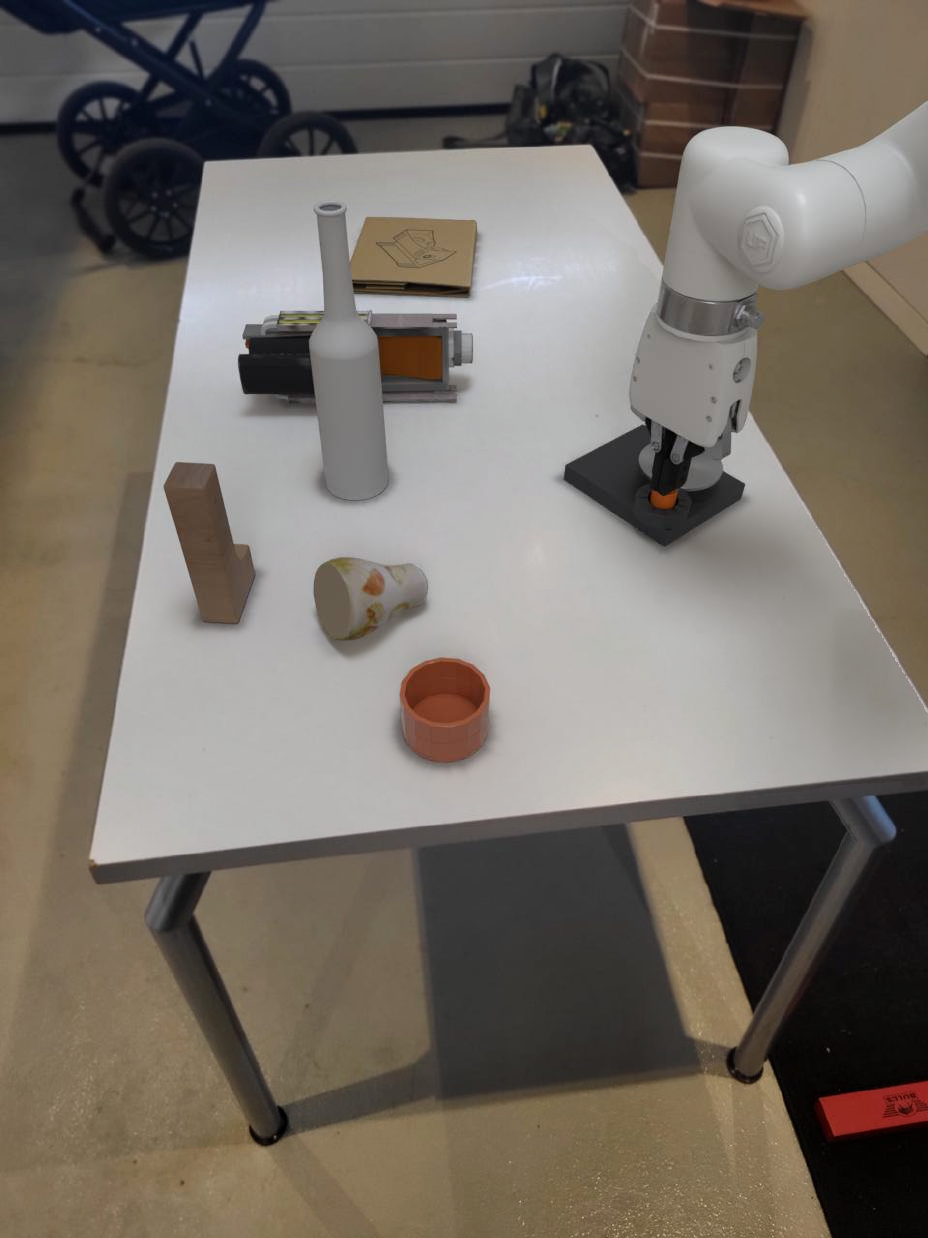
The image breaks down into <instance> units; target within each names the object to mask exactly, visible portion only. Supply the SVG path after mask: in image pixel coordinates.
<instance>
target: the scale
mask: <svg viewBox="0 0 928 1238" xmlns="http://www.w3.org/2000/svg"><path fill="white" fill-rule="evenodd" d="M649 444H651V435H650V433H649V431H648V429H647V427H646V424H645V423H644V424H643V423H642V424H641V425H638V426H637V427H635V428H632V429H631V430H629V431H627V432H625V433H623V434H622V435H621V434H620V436H618V437H615V438H614V439H611V440H610V441H607V442H606V443H604V444H602V445H600V446H598V447H596V448H595V449H593V450H591V451H589V452H587V453H585V454H583V455H581V456H580V457H578V458H576V459H574V460H572V461H570V462H568V463H566V464H565V465H564V471H563V472H564V473H563V481H565V482H567V483H569V485H571V486H573V487H574V488H576V489H577V490H579V491H580V492H581V493H583V494H585V495H586V496H588V497H589V498H591V499H592V500H594V501H596V502H597V503H598V504H600V505H601V506H603V508H606V509H607V510H608V511H610V512H612V513H613V514H614V515H616V516H618V517H619V518H621V519H622V520H624V521H625V522H627V523H628V524H629V525H631V526H632V527H634V528H635V529H637V530H638V531H640V532H642V533H643V534H644V535H646V536H647V537H649V538H650V539H652V540H653V541H655V542H656V543H658V544H660V545H661V546H662V547H666V546H668V545H670V544H671V543H673V542H674V541H676V540H678V539H679V538H682V537H683V536H684V535H685V534H687V533H689V532H691V531H692V530H694V529H695V528H697V527H698V526H700V525H702V524H703V523H705V522H706V521H708V520H709V519H711V518H712V517H714V516H716V515H717V514H719V513H721V512H722V511H724V510H726V509H727V508H729V507H730V506H732V505H733V504H735V503H736V502H738V501H740V500H741V499H742V498H743V495H744V491H745V488H746V483H745V482H743V481H741V480H739V479H738V478H736V477H735V476H733V475H731V474H730V473H728V472H726V471H724V470H723V473H722V476H721V478H720V479H719V481H718V482H717V483H716V484H714V485H713V486H711V487H709V488H706V489H703V490H698V491H678V493H677V498H676V502H675V505H674V507H672V508H668V509H663V508H658V507H655V506H653V505H652V504H651V502H650V498H651V493H652V489H651V488H650V484H651V481H650V480H649V479H648V478H647V477H645V476H644V474H643V473H642V472H641V470H640V468H639V465H638V459H639V455H640V453H641V451H642V450H643V449H644V448H645V447H646V446H647V445H649Z"/></svg>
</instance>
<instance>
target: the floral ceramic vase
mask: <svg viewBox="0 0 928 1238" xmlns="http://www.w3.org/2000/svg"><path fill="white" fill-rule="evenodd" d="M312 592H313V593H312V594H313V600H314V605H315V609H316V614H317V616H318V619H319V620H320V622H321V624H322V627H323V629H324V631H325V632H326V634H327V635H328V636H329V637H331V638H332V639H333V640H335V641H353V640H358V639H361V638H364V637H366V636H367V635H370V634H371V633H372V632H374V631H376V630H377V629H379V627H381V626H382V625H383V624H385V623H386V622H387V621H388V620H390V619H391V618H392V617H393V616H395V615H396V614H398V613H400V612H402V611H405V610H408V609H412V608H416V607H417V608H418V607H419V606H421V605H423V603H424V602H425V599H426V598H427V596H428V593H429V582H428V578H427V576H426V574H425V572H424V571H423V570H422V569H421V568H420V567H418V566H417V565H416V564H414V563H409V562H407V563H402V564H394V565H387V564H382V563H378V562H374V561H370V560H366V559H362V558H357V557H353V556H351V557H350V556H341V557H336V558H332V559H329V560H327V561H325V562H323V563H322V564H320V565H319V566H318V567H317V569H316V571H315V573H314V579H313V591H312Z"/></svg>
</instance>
